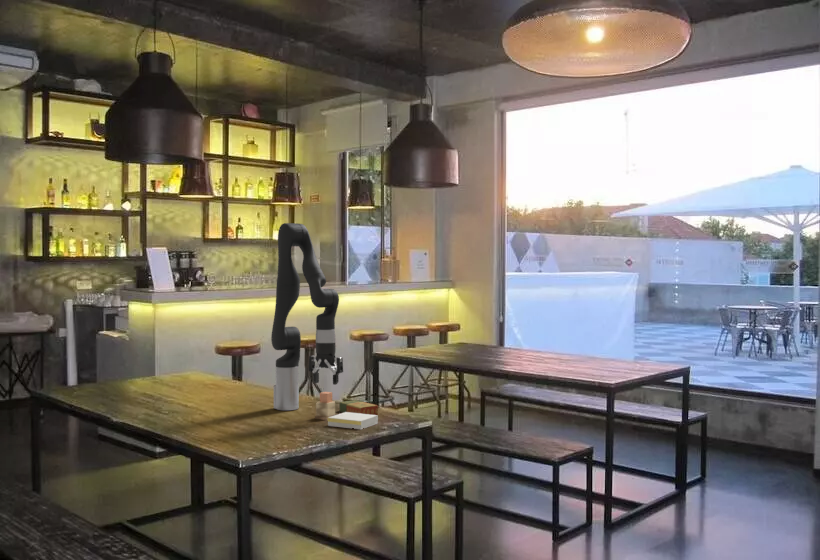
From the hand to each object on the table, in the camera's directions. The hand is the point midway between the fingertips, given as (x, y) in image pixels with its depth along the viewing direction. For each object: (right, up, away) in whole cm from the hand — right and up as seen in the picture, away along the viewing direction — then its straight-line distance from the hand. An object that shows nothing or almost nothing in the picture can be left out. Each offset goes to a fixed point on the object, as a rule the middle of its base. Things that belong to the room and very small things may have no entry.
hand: (325, 383), depth 295 cm
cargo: (0, -7, 0) cm, 7 cm away
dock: (+11, -13, -12) cm, 21 cm away
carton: (+12, -14, +10) cm, 21 cm away
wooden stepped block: (0, -13, 0) cm, 13 cm away
